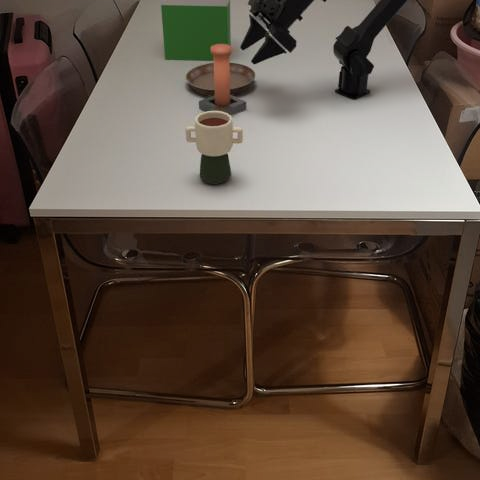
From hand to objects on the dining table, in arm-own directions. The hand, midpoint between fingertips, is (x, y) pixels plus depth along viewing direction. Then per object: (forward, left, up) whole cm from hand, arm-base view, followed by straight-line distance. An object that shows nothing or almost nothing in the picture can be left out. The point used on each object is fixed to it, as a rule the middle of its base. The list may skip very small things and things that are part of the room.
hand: (246, 55), depth 148 cm
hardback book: (+34, -13, -13) cm, 38 cm away
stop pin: (+3, +5, -12) cm, 14 cm away
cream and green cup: (-20, +27, -13) cm, 36 cm away
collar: (+3, +5, -12) cm, 14 cm away
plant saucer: (+14, -3, -13) cm, 19 cm away
